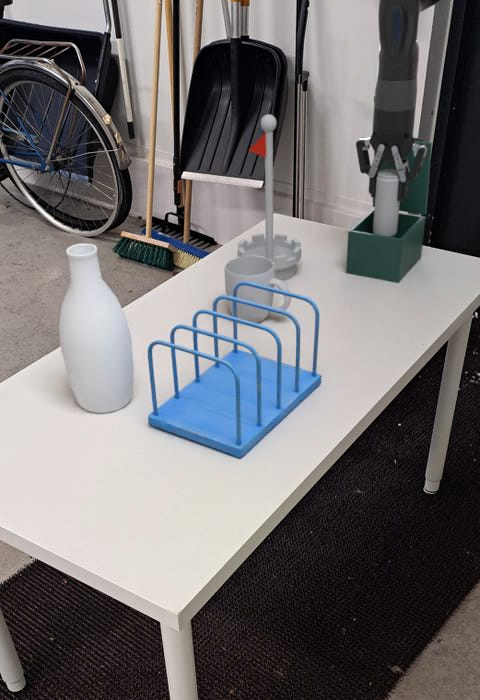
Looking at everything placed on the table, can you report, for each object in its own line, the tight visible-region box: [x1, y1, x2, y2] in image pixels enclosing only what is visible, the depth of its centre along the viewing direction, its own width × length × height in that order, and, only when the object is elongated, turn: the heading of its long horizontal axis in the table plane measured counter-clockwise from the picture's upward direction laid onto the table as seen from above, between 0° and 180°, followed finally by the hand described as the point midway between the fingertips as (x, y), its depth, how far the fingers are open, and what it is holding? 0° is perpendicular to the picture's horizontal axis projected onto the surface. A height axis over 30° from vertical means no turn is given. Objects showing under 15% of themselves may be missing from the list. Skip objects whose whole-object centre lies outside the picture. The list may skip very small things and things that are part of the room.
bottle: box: [58, 243, 134, 414], centre depth 132 cm, size 11×11×25 cm
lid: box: [372, 137, 433, 216], centre depth 171 cm, size 14×11×5 cm
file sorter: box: [147, 281, 322, 458], centre depth 133 cm, size 25×17×15 cm
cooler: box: [345, 207, 427, 284], centre depth 174 cm, size 13×11×9 cm
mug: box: [224, 256, 292, 324], centre depth 157 cm, size 13×9×10 cm
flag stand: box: [236, 113, 302, 281], centre depth 167 cm, size 13×13×30 cm
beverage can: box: [373, 169, 400, 237], centre depth 167 cm, size 5×5×12 cm
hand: (387, 197), depth 166 cm, fingers closed on beverage can, 5 cm apart
